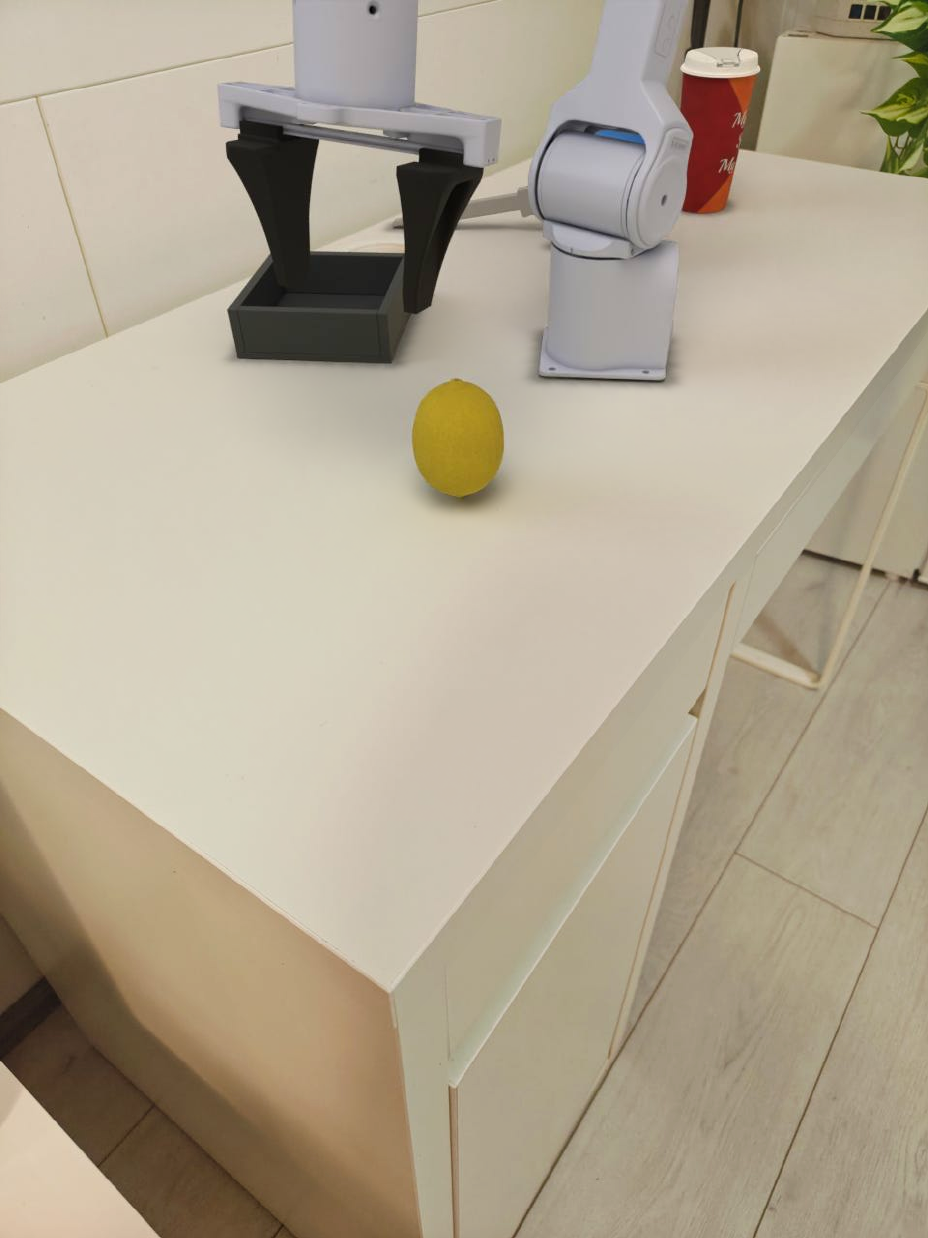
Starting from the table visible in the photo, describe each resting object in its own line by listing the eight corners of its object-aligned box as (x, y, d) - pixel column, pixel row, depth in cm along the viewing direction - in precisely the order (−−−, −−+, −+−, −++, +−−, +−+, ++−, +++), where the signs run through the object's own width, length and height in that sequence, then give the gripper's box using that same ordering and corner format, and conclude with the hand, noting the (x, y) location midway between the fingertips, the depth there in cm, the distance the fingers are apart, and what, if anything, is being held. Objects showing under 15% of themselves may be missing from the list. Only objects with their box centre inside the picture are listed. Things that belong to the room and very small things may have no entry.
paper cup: (743, 215, 92) (771, 60, 82) (669, 217, 92) (689, 62, 83) (727, 192, 98) (752, 43, 88) (658, 193, 98) (676, 45, 88)
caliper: (588, 231, 90) (593, 164, 86) (587, 234, 89) (592, 167, 85) (394, 225, 92) (389, 160, 88) (391, 228, 92) (386, 163, 87)
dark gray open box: (416, 298, 78) (414, 252, 76) (391, 363, 69) (386, 313, 66) (280, 294, 80) (272, 249, 77) (237, 357, 70) (226, 309, 68)
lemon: (495, 526, 53) (495, 407, 48) (406, 517, 54) (396, 399, 48) (510, 476, 57) (511, 360, 52) (427, 468, 58) (420, 354, 52)
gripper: (166, -31, 39) (197, 287, 47) (468, 0, 35) (446, 341, 43) (257, -24, 44) (271, 260, 52) (528, 3, 40) (498, 306, 48)
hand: (354, 295), depth 48 cm, fingers open, 7 cm apart
